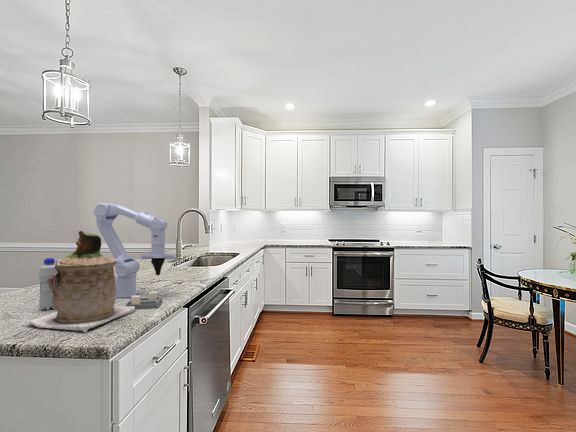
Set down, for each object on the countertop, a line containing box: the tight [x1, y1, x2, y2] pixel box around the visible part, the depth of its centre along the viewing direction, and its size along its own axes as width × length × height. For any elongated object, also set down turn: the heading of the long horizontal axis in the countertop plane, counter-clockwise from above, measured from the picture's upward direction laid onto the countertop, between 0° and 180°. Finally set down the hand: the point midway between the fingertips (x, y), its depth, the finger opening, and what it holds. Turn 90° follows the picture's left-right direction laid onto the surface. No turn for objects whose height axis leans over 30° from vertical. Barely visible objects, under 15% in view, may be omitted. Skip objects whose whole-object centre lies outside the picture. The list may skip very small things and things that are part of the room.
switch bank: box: [125, 295, 163, 310], centre depth 129 cm, size 12×10×2 cm
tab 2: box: [147, 291, 158, 300], centre depth 133 cm, size 3×2×4 cm
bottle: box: [38, 257, 58, 311], centre depth 124 cm, size 7×7×20 cm
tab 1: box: [130, 294, 142, 304], centre depth 126 cm, size 3×2×4 cm
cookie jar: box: [25, 230, 136, 333], centre depth 113 cm, size 25×25×32 cm
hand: (158, 274), depth 143 cm, fingers closed
